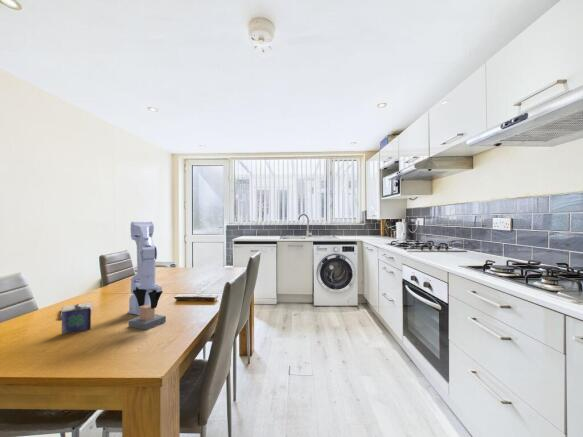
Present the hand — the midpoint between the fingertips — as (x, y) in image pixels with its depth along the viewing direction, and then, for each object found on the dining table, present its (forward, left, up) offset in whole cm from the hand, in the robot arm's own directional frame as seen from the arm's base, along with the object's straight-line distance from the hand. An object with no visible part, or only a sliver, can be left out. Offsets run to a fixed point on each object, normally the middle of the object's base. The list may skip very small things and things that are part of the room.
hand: (147, 306), depth 118 cm
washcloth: (-45, -3, -8) cm, 46 cm away
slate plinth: (0, 0, -7) cm, 7 cm away
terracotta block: (0, 0, -5) cm, 5 cm away
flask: (-19, -17, -8) cm, 27 cm away
